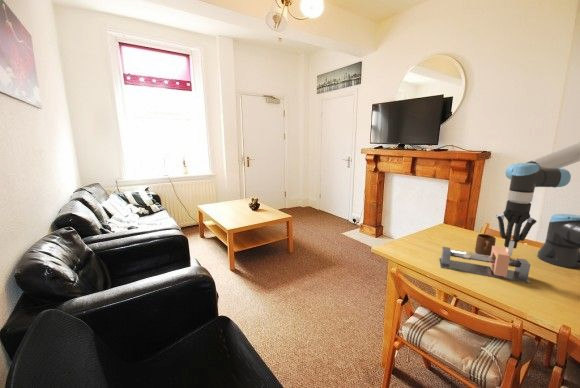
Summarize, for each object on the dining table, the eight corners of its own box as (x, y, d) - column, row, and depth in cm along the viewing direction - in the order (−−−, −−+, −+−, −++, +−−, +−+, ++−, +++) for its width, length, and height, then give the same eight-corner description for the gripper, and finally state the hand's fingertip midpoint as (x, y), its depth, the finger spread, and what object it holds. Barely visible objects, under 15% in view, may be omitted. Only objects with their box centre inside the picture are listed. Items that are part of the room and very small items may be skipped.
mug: (495, 261, 124) (499, 243, 122) (476, 258, 128) (479, 240, 125) (491, 252, 134) (494, 235, 132) (473, 249, 138) (476, 232, 136)
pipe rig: (522, 273, 113) (525, 257, 112) (530, 283, 105) (534, 266, 104) (439, 259, 127) (441, 244, 125) (440, 267, 119) (442, 251, 117)
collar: (499, 266, 117) (503, 247, 115) (506, 277, 108) (510, 255, 106) (488, 264, 118) (492, 245, 116) (494, 274, 110) (498, 254, 108)
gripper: (536, 200, 106) (524, 253, 111) (496, 197, 111) (487, 248, 116) (544, 205, 99) (531, 261, 104) (502, 201, 105) (492, 255, 110)
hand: (508, 254), depth 110 cm, fingers closed
